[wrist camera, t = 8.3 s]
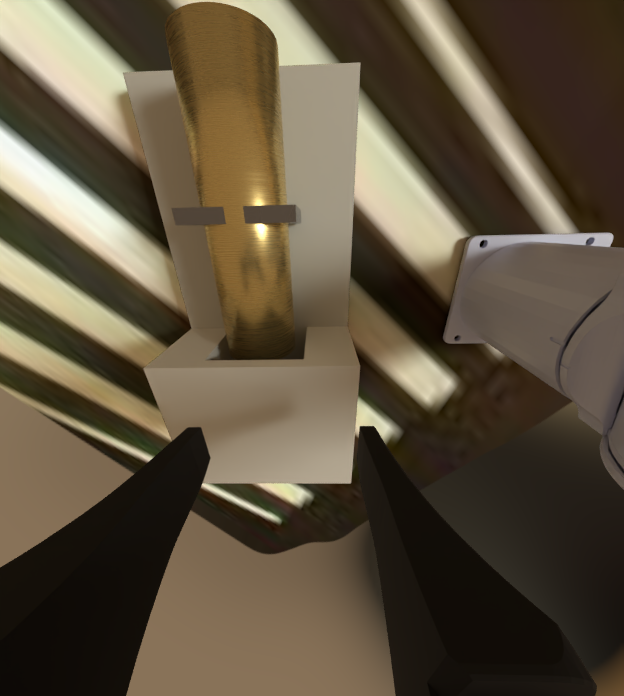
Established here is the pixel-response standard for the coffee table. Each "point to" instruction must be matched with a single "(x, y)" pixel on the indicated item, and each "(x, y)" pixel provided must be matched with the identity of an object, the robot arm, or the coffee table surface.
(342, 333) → the housing
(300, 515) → the coffee table surface
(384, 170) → the coffee table surface
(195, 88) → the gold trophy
